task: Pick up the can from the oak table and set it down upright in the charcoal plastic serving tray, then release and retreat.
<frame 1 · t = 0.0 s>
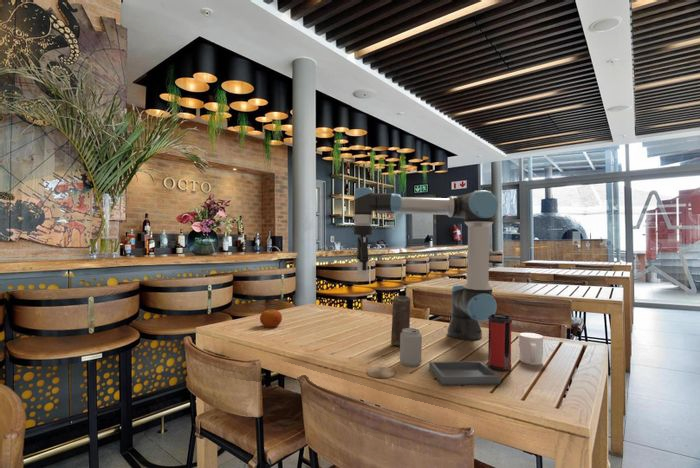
hand: (361, 276, 156), 28 cm above the table, fingers open, 13 cm apart
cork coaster: (380, 373, 123), on the table
mug: (531, 362, 138), on the table
fruit: (270, 326, 184), on the table
speaker: (499, 368, 130), on the table
dark brown bottle: (400, 346, 155), on the table
tray: (462, 376, 121), on the table
can: (410, 364, 133), on the table
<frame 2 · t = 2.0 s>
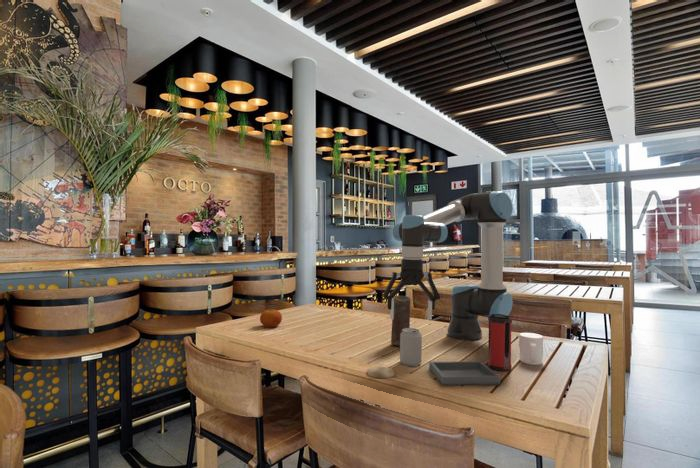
hand: (410, 318, 133), 16 cm above the table, fingers open, 13 cm apart
nothing on the table moved.
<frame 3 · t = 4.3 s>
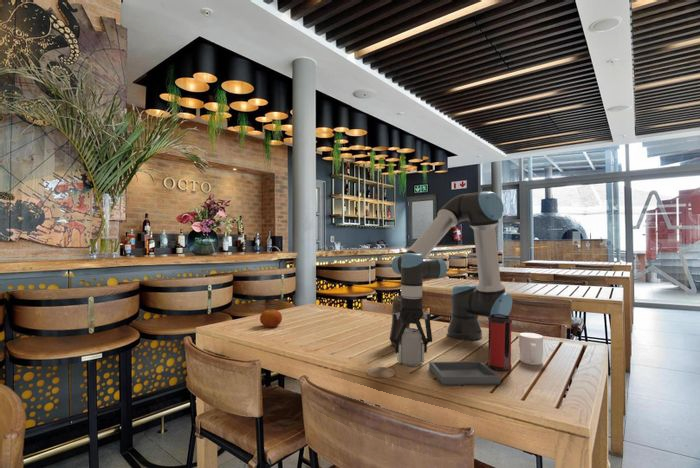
hand: (410, 361, 133), 1 cm above the table, fingers closed on can, 7 cm apart
can: (410, 364, 133), on the table, touching gripper
everything else where it was.
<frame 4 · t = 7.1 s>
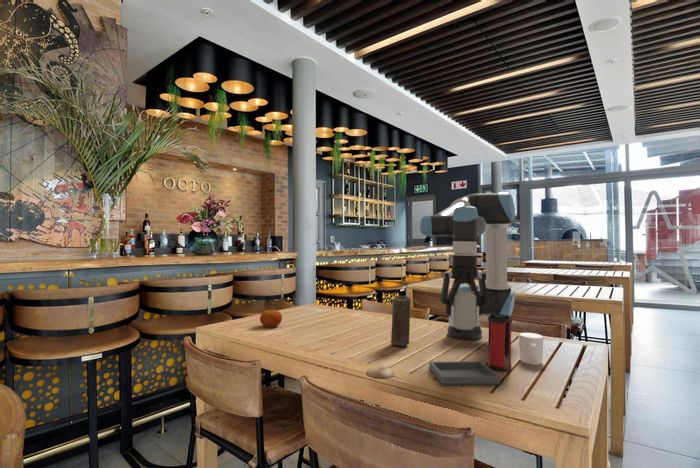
hand: (463, 325, 121), 16 cm above the table, fingers closed on can, 7 cm apart
can: (463, 328, 121), point 16 cm above the table, touching gripper
everything else where it was.
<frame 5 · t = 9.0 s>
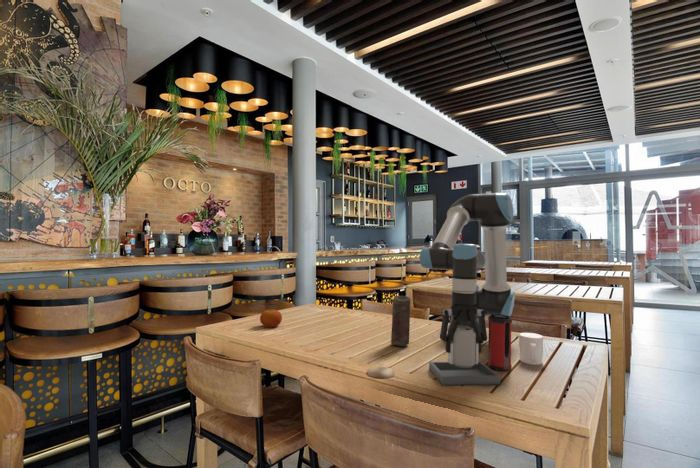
hand: (463, 362, 121), 5 cm above the table, fingers closed on can, 7 cm apart
can: (463, 365, 121), point 4 cm above the table, touching gripper
everything else where it was.
when the fingers open (3 cm above the table, at t = 10.3 s): can drops 1 cm, resting on tray.
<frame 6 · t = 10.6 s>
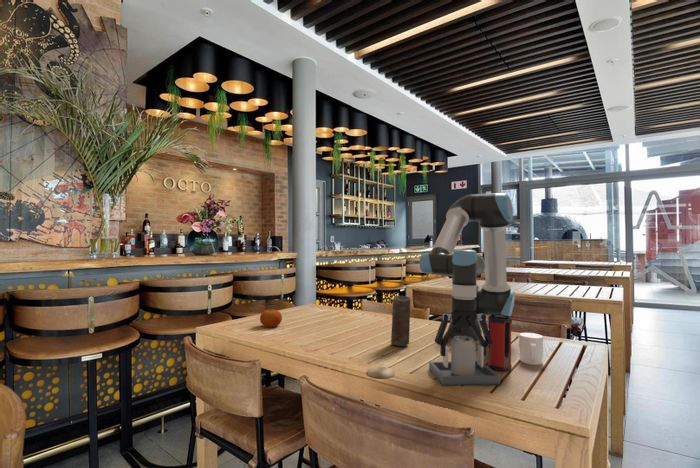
hand: (463, 365, 121), 3 cm above the table, fingers open, 11 cm apart
can: (462, 375, 121), resting on tray
everything else where it was.
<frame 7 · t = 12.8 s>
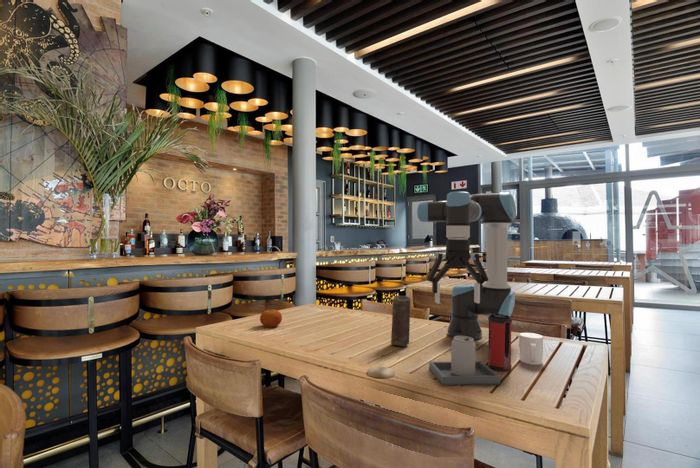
hand: (457, 302, 125), 23 cm above the table, fingers open, 13 cm apart
nothing on the table moved.
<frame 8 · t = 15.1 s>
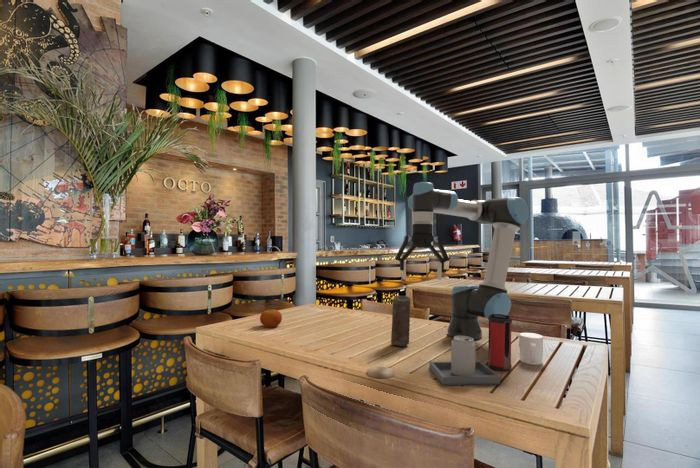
hand: (421, 279, 143), 29 cm above the table, fingers open, 13 cm apart
nothing on the table moved.
at the end: can inside the target area on the tray (0.0 cm from its centre), point 0.4 cm above the tray's base; can tilted 0°; the gripper is holding nothing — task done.
